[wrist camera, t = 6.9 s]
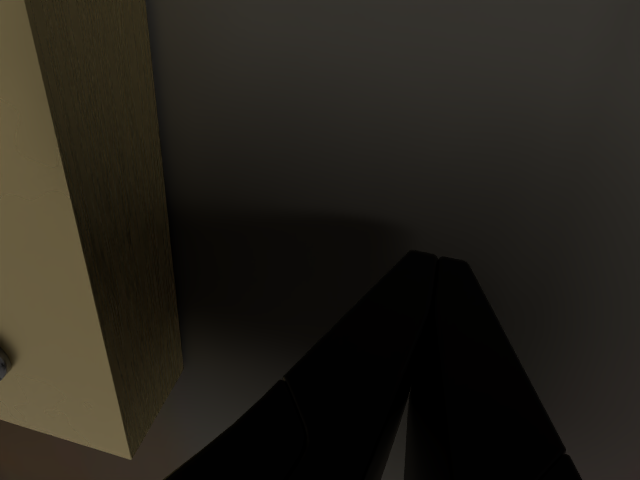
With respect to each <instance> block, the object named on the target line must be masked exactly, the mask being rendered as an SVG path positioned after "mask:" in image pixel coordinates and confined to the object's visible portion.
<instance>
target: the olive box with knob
mask: <svg viewBox="0 0 640 480" xmlns="http://www.w3.org/2000/svg"><path fill="white" fill-rule="evenodd" d="M183 369H184V367H183V358H182V348H181V338H180V329H179V319H178V310H177V300H176V290H175V281H174V271H173V262H172V252H171V242H170V233H169V223H168V214H167V204H166V195H165V185H164V175H163V166H162V156H161V147H160V137H159V127H158V118H157V108H156V99H155V89H154V79H153V70H152V60H151V51H150V41H149V32H148V22H147V12H146V3H145V0H0V420H4V421H7V422H10V423H13V424H17V425H20V426H23V427H26V428H29V429H33V430H36V431H39V432H42V433H46V434H49V435H52V436H55V437H59V438H62V439H65V440H68V441H72V442H75V443H78V444H81V445H84V446H88V447H91V448H94V449H97V450H101V451H104V452H107V453H110V454H114V455H117V456H120V457H123V458H127V459H130V460H132V458H133V456H134V455H135V453H136V451H137V449H138V448H139V446H140V444H141V442H142V441H143V439H144V437H145V436H146V434H147V432H148V430H149V429H150V427H151V425H152V423H153V422H154V420H155V418H156V416H157V415H158V413H159V411H160V409H161V408H162V406H163V404H164V402H165V401H166V399H167V397H168V395H169V394H170V392H171V390H172V388H173V387H174V385H175V383H176V381H177V380H178V378H179V376H180V374H181V373H182V371H183Z"/></svg>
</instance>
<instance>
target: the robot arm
mask: <svg viewBox="0 0 640 480" xmlns="http://www.w3.org/2000/svg"><path fill="white" fill-rule="evenodd" d="M410 387H411V389H410ZM409 391H410V395H409ZM408 395H409V404H408V417H407V434H406V452H405V470H404V480H582V479H581V477H580V475H579V473H578V471H577V469H576V467H575V465H574V463H573V461H572V459H571V457H570V456H569V455H567V454H565V453H566V448H565V446H564V445H563V443H562V441H561V439H560V437H559V435H558V433H557V431H556V429H555V427H554V426H553V424H552V422H551V420H550V418H549V416H548V414H547V412H546V410H545V408H544V407H543V405H542V403H541V401H540V399H539V397H538V395H537V393H536V391H535V389H534V387H533V386H532V384H531V382H530V380H529V378H528V376H527V374H526V372H525V370H524V368H523V367H522V365H521V363H520V361H519V359H518V357H517V355H516V353H515V351H514V349H513V348H512V346H511V344H510V342H509V340H508V338H507V336H506V334H505V332H504V330H503V328H502V327H501V325H500V323H499V321H498V319H497V317H496V315H495V313H494V311H493V309H492V308H491V306H490V304H489V302H488V300H487V298H486V296H485V294H484V292H483V290H482V289H481V287H480V285H479V283H478V281H477V279H476V277H475V275H474V273H473V271H472V269H471V268H470V266H469V264H468V263H467V262H465V261H462V260H458V259H453V258H448V257H440V258H439V259H438V258H437V256H436V255H434V254H430V253H425V252H420V251H416V250H411V251H409V252H408V253H407V254H406V255H405V256H404V257H403V258H402V259H401V260H400V261H399V262H398V263H397V264H396V265H395V266H394V267H393V268H392V269H391V270H390V271H389V272H388V273H387V274H386V275H385V276H384V277H383V278H382V279H381V280H380V281H379V282H378V283H377V284H376V285H375V286H374V287H373V288H372V289H371V290H370V291H369V292H368V293H367V294H366V295H365V296H364V297H363V298H362V299H361V300H360V301H359V302H358V303H357V304H356V305H355V306H354V307H353V308H352V309H351V310H350V311H349V312H347V313H346V314H345V315H344V316H343V317H342V318H341V319H340V320H339V321H338V322H337V323H336V324H335V325H334V326H333V327H332V328H331V329H330V330H329V331H328V332H327V333H326V334H325V335H324V336H323V337H322V338H321V339H320V340H319V341H318V342H317V343H316V344H315V345H314V346H313V347H312V348H311V349H310V350H309V351H308V352H307V353H306V354H305V355H304V356H303V357H302V358H301V359H300V360H299V361H298V362H297V363H296V364H295V365H294V366H293V367H292V368H291V369H290V370H289V371H288V372H287V373H286V374H285V375H284V376H283V380H279V381H278V382H277V383H276V384H275V385H274V386H273V387H272V388H271V389H270V390H269V391H268V392H267V393H266V394H265V395H264V396H263V397H262V398H261V399H260V400H259V401H257V402H256V403H255V404H254V405H253V406H252V407H251V408H250V409H249V410H248V411H247V412H246V413H244V414H243V415H242V416H241V417H240V418H239V419H238V420H237V421H236V422H235V423H234V424H233V425H231V426H230V427H229V428H228V429H226V430H225V431H224V432H223V433H221V434H220V435H219V436H218V437H217V438H215V439H214V440H213V441H212V442H210V443H209V444H208V445H207V446H205V447H204V448H203V449H202V450H201V451H199V452H198V453H197V454H195V455H194V456H193V457H192V458H190V459H189V460H188V461H186V462H185V463H184V464H182V465H181V466H180V467H179V468H177V469H176V470H175V471H173V472H172V473H171V474H169V475H168V476H167V477H166V478H164V479H163V480H381V478H382V475H383V472H384V469H385V466H386V463H387V460H388V457H389V454H390V451H391V448H392V445H393V442H394V439H395V436H396V433H397V430H398V427H399V424H400V421H401V418H402V415H403V412H404V409H405V405H406V402H407V399H408Z"/></svg>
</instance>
